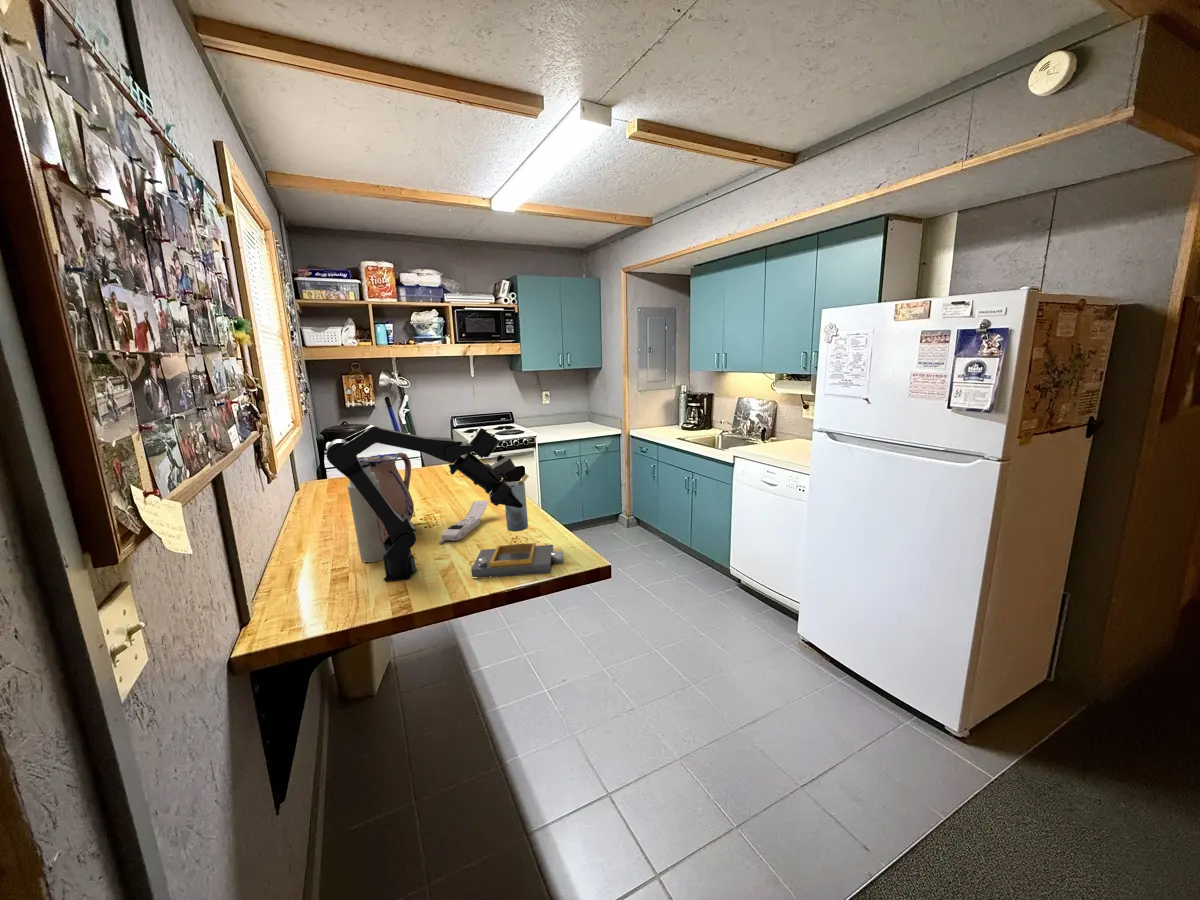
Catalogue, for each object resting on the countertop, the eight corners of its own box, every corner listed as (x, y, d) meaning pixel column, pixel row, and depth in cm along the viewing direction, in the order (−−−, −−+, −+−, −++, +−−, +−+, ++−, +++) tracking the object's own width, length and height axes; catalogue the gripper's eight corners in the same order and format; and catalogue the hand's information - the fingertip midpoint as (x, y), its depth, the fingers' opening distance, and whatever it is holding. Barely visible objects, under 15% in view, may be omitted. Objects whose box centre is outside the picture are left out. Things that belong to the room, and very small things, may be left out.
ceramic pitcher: (346, 540, 152) (332, 464, 146) (392, 516, 171) (381, 449, 166) (392, 543, 146) (378, 465, 141) (434, 519, 166) (423, 449, 161)
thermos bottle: (396, 551, 140) (381, 460, 134) (379, 563, 133) (362, 467, 127) (373, 550, 142) (357, 460, 136) (354, 562, 134) (336, 467, 128)
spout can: (508, 532, 133) (503, 479, 130) (506, 525, 139) (501, 474, 135) (534, 528, 135) (530, 475, 132) (531, 521, 141) (526, 470, 137)
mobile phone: (489, 500, 165) (451, 527, 141) (491, 516, 166) (454, 545, 142) (474, 500, 166) (433, 526, 143) (476, 516, 168) (436, 545, 144)
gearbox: (472, 578, 120) (470, 564, 120) (482, 558, 132) (480, 544, 131) (562, 572, 121) (561, 557, 120) (564, 552, 133) (563, 538, 132)
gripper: (499, 455, 122) (544, 490, 127) (492, 442, 139) (533, 474, 145) (471, 488, 121) (518, 522, 127) (468, 471, 139) (509, 502, 144)
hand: (520, 503), depth 135 cm, fingers closed on spout can, 6 cm apart
